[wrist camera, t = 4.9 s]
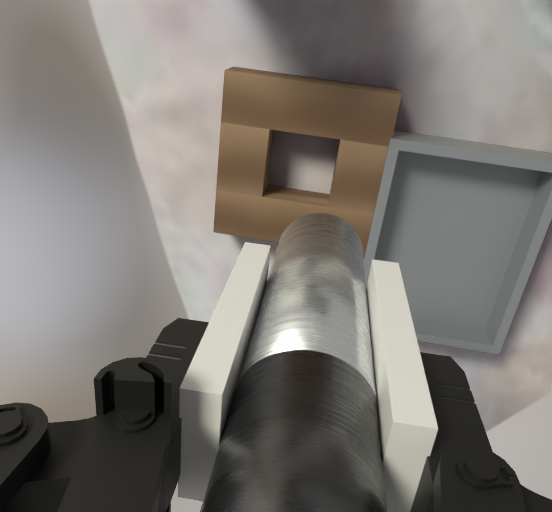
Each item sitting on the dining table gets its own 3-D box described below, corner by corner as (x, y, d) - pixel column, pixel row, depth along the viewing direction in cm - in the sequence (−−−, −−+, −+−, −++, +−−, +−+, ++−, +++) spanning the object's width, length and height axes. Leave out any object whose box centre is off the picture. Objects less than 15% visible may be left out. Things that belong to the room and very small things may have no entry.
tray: (387, 129, 31) (390, 138, 29) (554, 153, 30) (572, 164, 28) (348, 309, 37) (348, 329, 34) (488, 332, 36) (499, 354, 34)
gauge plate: (233, 66, 31) (224, 70, 28) (397, 89, 30) (401, 95, 28) (221, 218, 35) (213, 232, 33) (364, 240, 34) (366, 256, 32)
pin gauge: (281, 207, 17) (115, 714, 5) (369, 219, 17) (451, 781, 4) (273, 284, 18) (125, 846, 6) (355, 296, 18) (385, 903, 6)
